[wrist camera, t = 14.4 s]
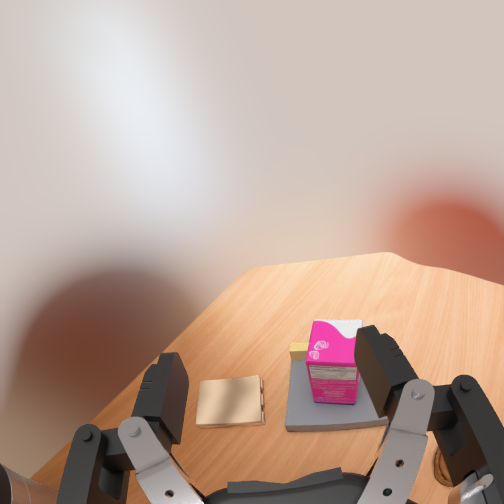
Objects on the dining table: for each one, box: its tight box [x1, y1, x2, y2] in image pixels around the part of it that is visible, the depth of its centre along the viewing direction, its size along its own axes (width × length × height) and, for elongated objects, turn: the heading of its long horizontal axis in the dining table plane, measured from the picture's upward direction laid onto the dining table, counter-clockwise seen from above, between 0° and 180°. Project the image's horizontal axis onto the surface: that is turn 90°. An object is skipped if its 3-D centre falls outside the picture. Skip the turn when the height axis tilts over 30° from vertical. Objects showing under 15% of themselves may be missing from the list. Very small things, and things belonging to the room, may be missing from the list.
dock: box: [285, 342, 389, 432], centre depth 33 cm, size 14×12×6 cm
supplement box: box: [305, 319, 363, 405], centre depth 30 cm, size 6×6×12 cm
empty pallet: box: [196, 375, 265, 428], centre depth 37 cm, size 10×8×2 cm
